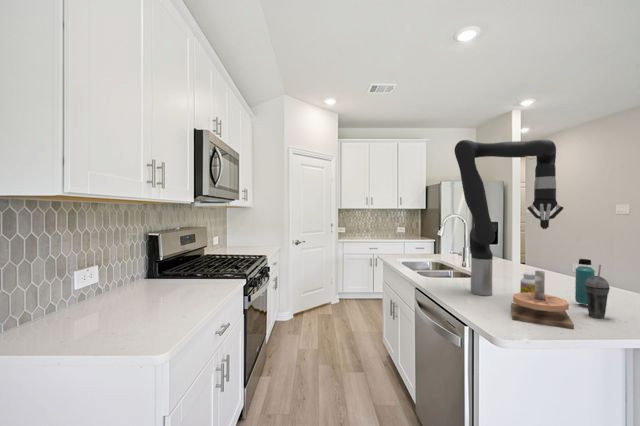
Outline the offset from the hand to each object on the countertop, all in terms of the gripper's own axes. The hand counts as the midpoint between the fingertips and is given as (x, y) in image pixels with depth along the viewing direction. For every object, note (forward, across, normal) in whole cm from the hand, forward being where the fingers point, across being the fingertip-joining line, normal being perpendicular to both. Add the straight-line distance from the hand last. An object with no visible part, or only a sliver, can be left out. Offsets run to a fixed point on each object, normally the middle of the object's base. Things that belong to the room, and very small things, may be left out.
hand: (544, 228), depth 132 cm
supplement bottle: (+33, -5, +2) cm, 34 cm away
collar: (+28, -3, -17) cm, 33 cm away
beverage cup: (+33, +16, -6) cm, 37 cm away
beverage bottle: (+33, +15, +8) cm, 37 cm away
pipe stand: (+33, -3, -17) cm, 37 cm away
